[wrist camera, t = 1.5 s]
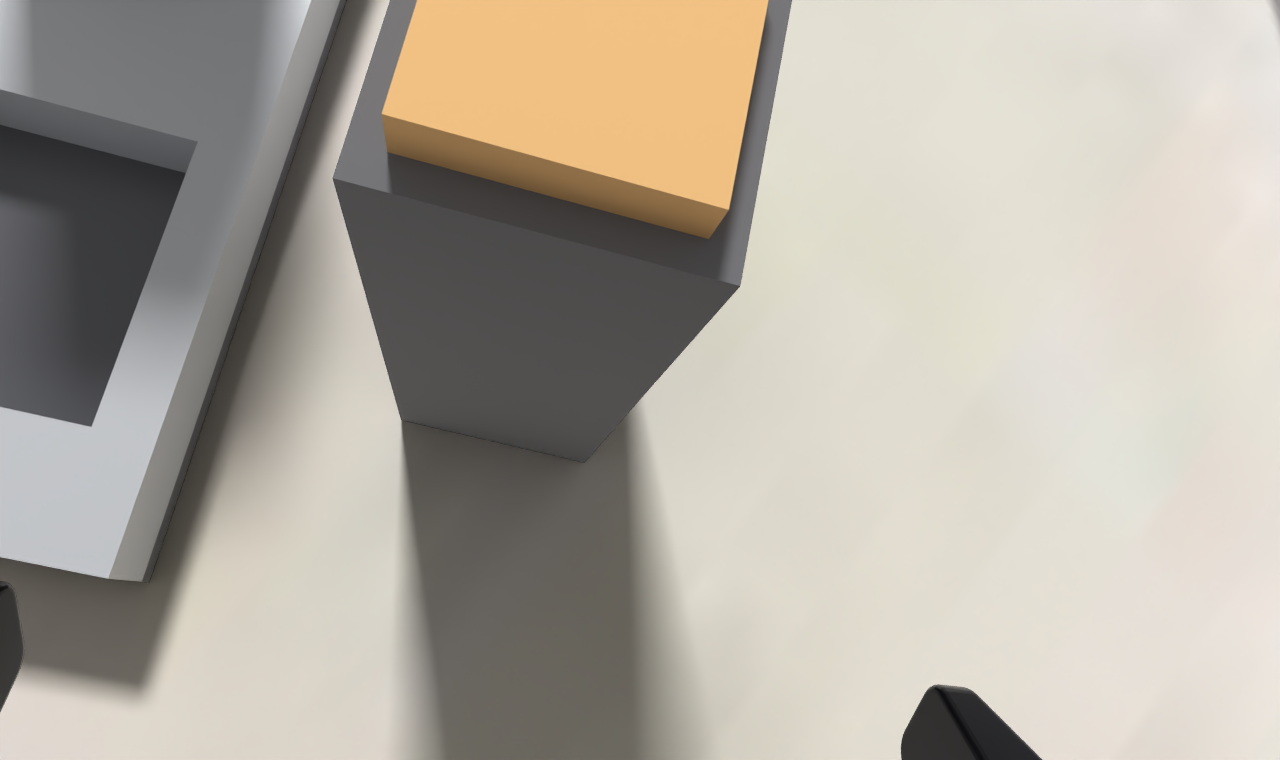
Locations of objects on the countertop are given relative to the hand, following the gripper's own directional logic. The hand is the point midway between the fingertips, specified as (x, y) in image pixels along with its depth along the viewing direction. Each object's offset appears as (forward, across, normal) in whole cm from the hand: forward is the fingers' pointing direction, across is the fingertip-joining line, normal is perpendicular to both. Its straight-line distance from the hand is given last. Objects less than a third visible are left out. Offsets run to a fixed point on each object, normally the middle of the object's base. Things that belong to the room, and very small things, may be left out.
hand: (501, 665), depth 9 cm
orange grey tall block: (+14, 0, +4) cm, 14 cm away
